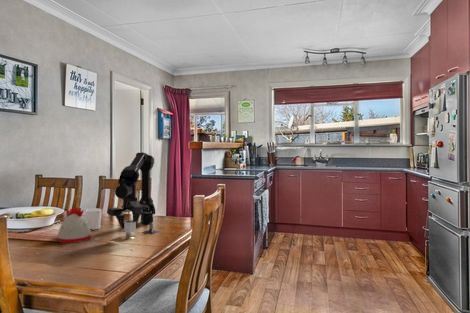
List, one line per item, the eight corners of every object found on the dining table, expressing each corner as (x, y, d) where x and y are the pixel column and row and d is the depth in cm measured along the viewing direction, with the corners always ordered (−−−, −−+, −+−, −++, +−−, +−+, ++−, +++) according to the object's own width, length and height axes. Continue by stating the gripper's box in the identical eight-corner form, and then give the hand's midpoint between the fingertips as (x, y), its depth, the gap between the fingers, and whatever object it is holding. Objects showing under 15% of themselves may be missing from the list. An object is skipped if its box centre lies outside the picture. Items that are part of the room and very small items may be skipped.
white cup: (97, 230, 158) (97, 211, 158) (82, 229, 158) (82, 210, 158) (103, 226, 166) (104, 208, 165) (89, 226, 166) (90, 208, 166)
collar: (119, 230, 144) (119, 221, 144) (130, 228, 149) (130, 219, 148) (126, 233, 140) (126, 223, 140) (137, 230, 145) (137, 221, 145)
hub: (117, 239, 143) (117, 229, 143) (128, 236, 149) (128, 226, 149) (128, 242, 140) (128, 231, 140) (139, 238, 146) (139, 228, 146)
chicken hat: (76, 244, 135) (77, 210, 134) (50, 241, 137) (50, 208, 137) (96, 235, 148) (97, 205, 148) (72, 233, 151) (73, 203, 151)
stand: (140, 234, 153) (141, 223, 153) (150, 231, 159) (150, 221, 159) (151, 236, 150) (151, 225, 150) (160, 233, 156) (161, 222, 156)
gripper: (120, 199, 132) (119, 234, 132) (155, 195, 146) (155, 227, 146) (107, 196, 139) (106, 229, 139) (142, 192, 153) (141, 223, 153)
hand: (128, 227), depth 144 cm, fingers closed on collar, 6 cm apart
